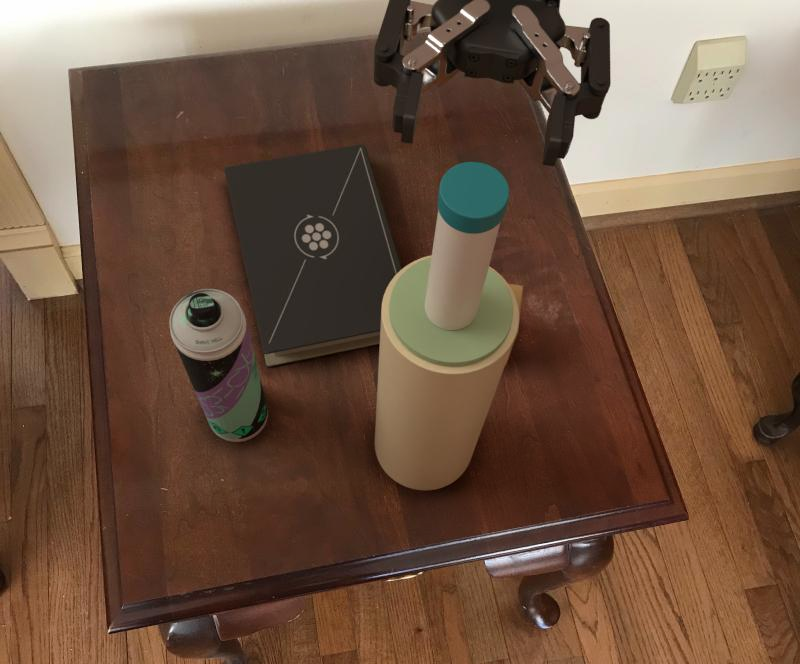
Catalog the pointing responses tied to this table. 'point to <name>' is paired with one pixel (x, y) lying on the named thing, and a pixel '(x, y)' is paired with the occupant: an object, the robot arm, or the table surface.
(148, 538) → the table surface
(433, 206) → the table surface
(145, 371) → the table surface
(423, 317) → the pad
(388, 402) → the pedestal
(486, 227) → the vial
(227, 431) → the spray can
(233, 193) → the book
